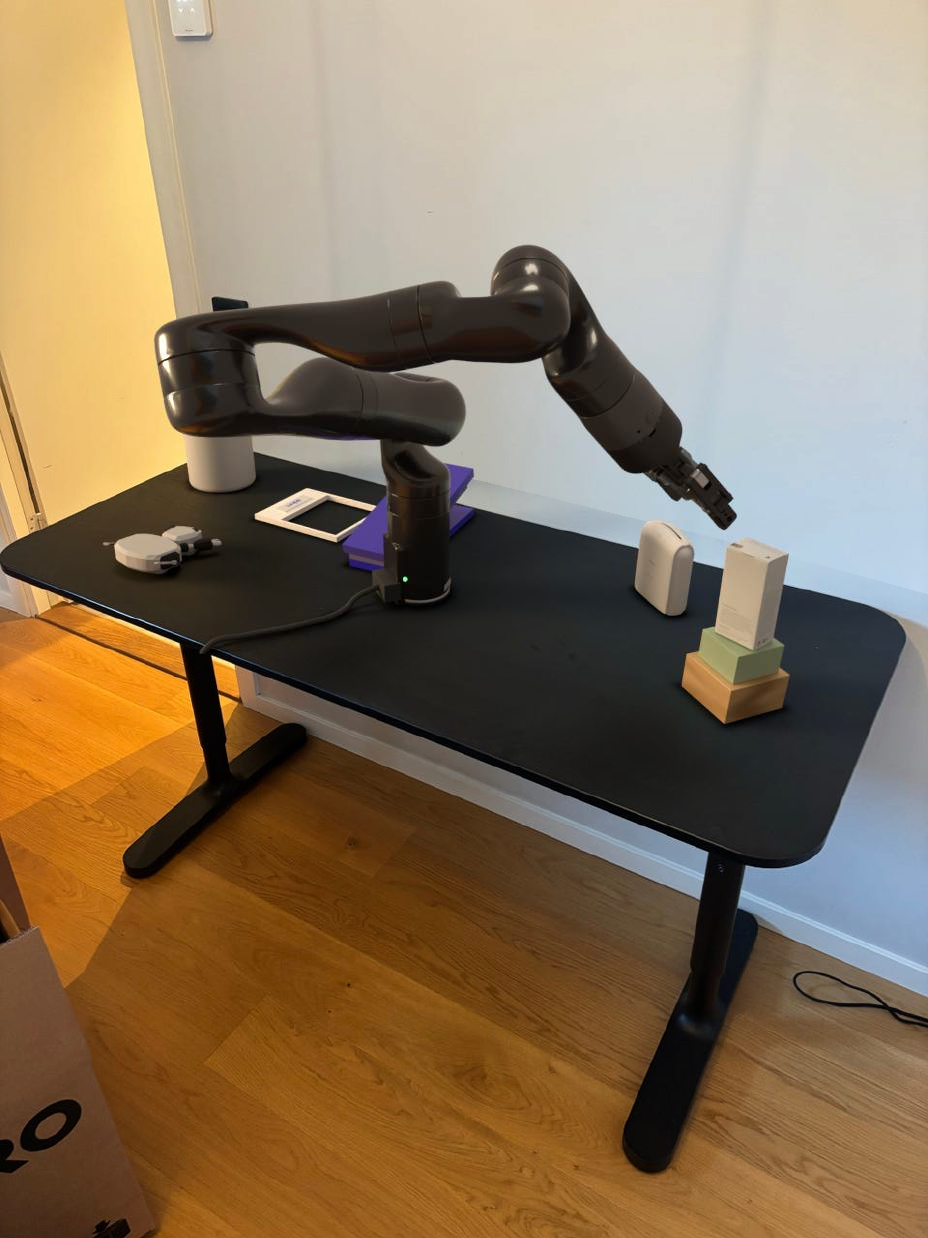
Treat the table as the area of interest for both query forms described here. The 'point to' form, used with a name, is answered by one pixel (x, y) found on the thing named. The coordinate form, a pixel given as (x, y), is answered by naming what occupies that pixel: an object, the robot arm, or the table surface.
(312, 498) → the photo frame
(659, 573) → the photo printer
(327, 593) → the table surface
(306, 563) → the table surface
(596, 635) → the table surface
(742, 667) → the upper block
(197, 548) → the robot toy
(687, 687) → the lower block
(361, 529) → the stapler
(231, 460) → the cylinder vase
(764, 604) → the cosmetic box
